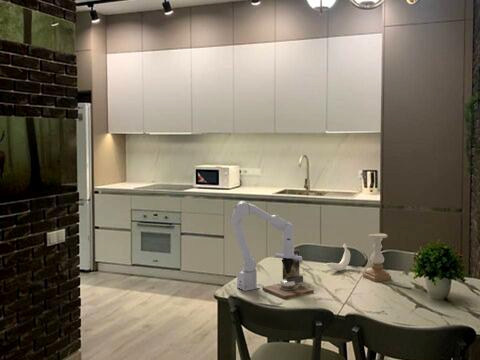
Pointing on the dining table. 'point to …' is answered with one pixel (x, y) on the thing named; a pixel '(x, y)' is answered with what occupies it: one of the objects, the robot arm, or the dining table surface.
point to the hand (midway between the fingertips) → (288, 273)
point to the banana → (343, 263)
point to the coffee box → (294, 267)
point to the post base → (287, 291)
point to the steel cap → (291, 281)
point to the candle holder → (377, 260)
